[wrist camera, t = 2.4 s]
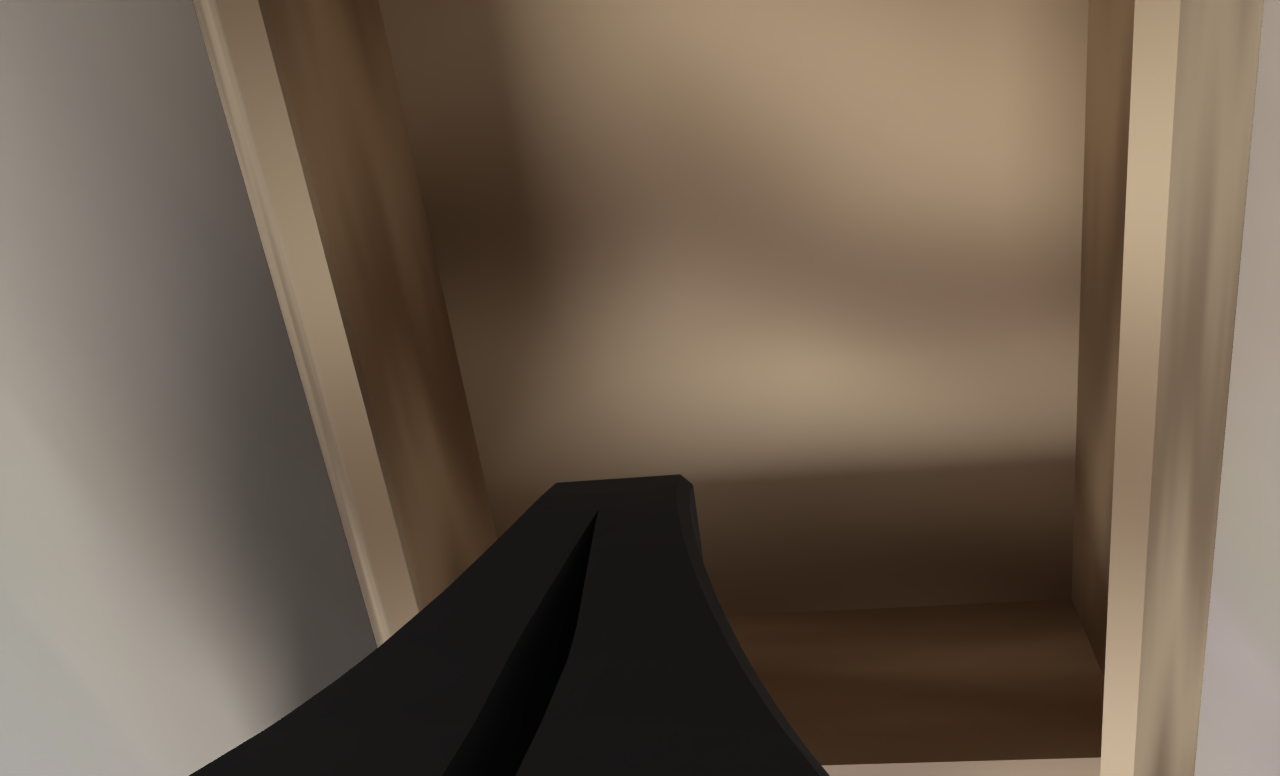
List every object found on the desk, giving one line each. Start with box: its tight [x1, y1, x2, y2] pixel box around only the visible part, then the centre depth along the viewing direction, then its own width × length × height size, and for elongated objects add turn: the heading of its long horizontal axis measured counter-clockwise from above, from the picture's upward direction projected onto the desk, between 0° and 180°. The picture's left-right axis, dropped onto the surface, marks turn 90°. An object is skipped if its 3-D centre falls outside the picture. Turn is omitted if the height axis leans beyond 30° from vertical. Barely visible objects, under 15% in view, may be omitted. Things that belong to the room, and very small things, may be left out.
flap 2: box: [1100, 0, 1264, 776], centre depth 13 cm, size 15×1×4 cm, turn 8°
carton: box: [258, 0, 1135, 776], centre depth 17 cm, size 17×12×4 cm
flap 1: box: [192, 0, 419, 647], centre depth 14 cm, size 15×1×4 cm, turn 8°
